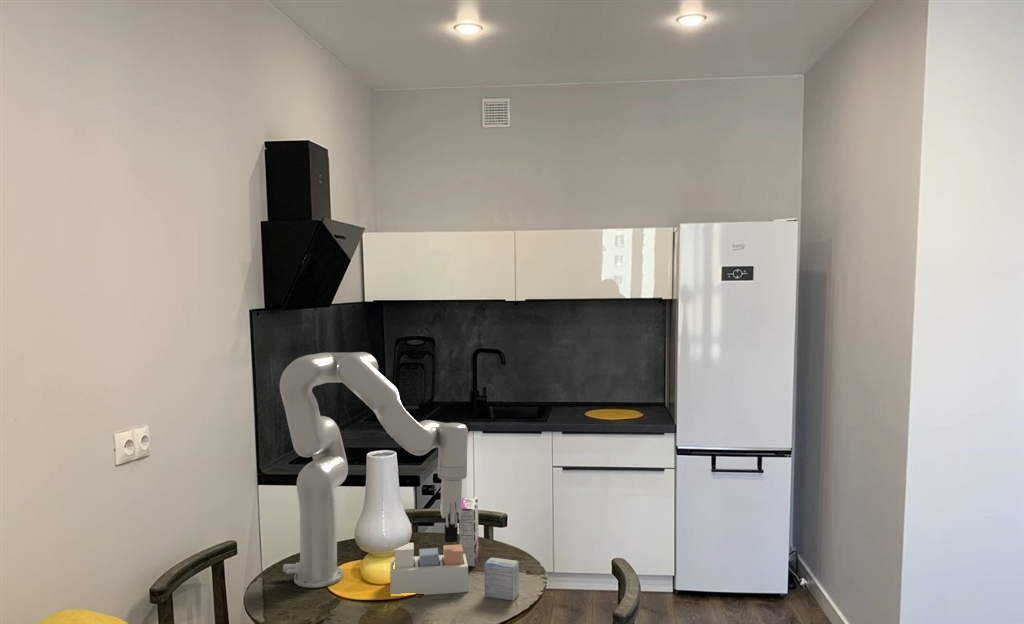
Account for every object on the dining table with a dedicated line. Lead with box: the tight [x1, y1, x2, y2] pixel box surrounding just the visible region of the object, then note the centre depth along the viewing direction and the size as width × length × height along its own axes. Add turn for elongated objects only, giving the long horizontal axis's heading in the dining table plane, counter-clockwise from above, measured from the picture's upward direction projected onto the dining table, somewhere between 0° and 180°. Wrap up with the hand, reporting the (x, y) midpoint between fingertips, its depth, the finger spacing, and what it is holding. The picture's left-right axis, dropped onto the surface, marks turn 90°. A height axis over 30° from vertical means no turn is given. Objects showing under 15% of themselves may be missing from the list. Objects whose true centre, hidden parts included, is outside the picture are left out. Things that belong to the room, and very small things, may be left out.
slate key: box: [418, 547, 440, 567], centre depth 172 cm, size 5×5×6 cm
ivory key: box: [394, 542, 415, 568], centre depth 171 cm, size 5×5×6 cm
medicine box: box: [483, 556, 520, 602], centre depth 167 cm, size 8×4×9 cm, turn 71°
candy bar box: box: [458, 497, 480, 568], centre depth 191 cm, size 11×5×16 cm, turn 179°
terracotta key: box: [442, 543, 463, 566], centre depth 173 cm, size 5×5×6 cm
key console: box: [389, 554, 469, 596], centre depth 172 cm, size 20×9×6 cm, turn 99°
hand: (450, 540), depth 173 cm, fingers closed
